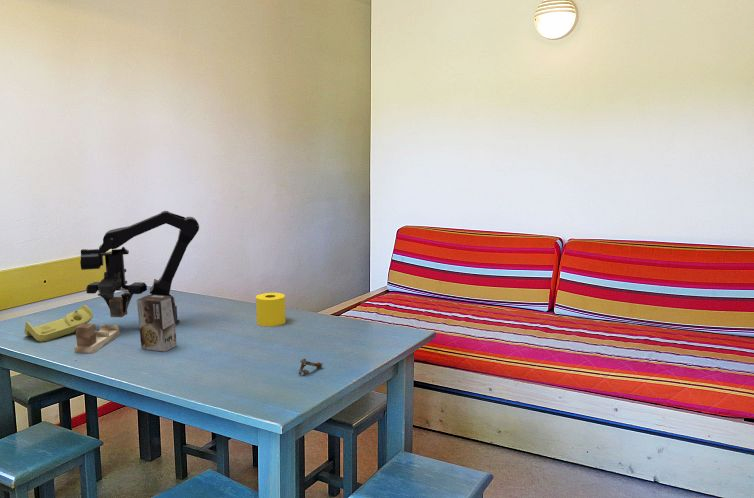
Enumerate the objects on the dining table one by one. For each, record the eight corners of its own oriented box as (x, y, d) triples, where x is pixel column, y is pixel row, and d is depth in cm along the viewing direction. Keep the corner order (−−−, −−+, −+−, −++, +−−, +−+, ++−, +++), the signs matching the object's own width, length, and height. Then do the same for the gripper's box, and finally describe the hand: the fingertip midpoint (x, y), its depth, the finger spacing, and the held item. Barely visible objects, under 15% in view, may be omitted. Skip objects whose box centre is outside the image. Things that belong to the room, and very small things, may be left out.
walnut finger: (127, 313, 216) (126, 297, 215) (121, 317, 212) (119, 300, 211) (116, 313, 217) (114, 296, 215) (109, 317, 212) (108, 300, 211)
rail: (119, 335, 208) (117, 311, 207) (93, 352, 192) (91, 327, 190) (102, 334, 209) (100, 311, 207) (74, 352, 192) (72, 327, 191)
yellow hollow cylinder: (255, 319, 225) (254, 293, 223) (283, 317, 228) (282, 291, 226) (258, 327, 216) (257, 300, 214) (287, 324, 218) (286, 298, 217)
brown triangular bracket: (294, 373, 172) (299, 357, 173) (314, 376, 178) (318, 361, 179) (298, 374, 171) (303, 358, 172) (318, 378, 177) (323, 362, 178)
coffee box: (177, 345, 198) (174, 295, 195) (164, 352, 192) (160, 301, 189) (153, 342, 201) (150, 293, 198) (140, 349, 195) (136, 298, 192)
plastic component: (39, 337, 200) (24, 319, 204) (38, 354, 204) (23, 336, 208) (98, 317, 215) (82, 301, 219) (96, 334, 219) (81, 318, 223)
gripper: (75, 272, 204) (79, 318, 207) (131, 273, 203) (134, 319, 206) (92, 265, 215) (96, 309, 218) (145, 266, 214) (149, 310, 217)
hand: (118, 312), depth 214 cm, fingers closed on walnut finger, 4 cm apart
